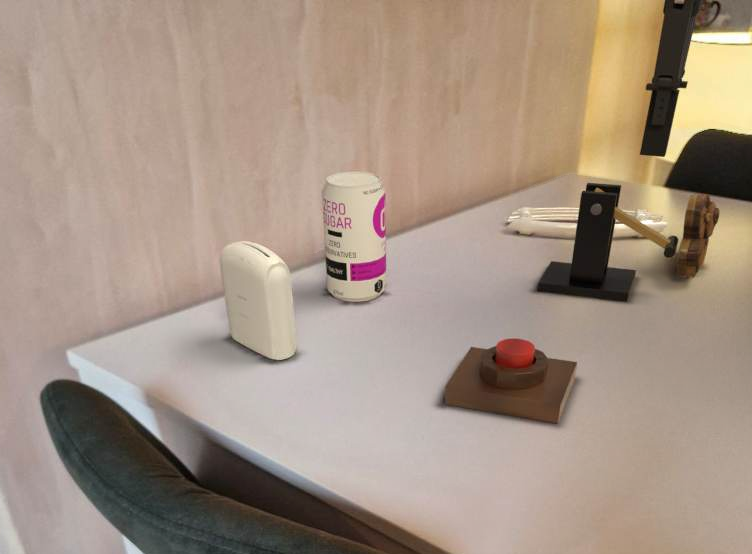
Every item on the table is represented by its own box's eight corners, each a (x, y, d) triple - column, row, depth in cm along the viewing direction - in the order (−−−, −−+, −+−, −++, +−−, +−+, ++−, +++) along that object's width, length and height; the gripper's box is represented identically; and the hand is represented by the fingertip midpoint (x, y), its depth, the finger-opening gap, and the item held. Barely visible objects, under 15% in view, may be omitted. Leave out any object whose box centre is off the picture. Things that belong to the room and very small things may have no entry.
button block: (574, 379, 85) (579, 346, 82) (557, 423, 77) (562, 388, 75) (469, 364, 88) (471, 331, 86) (444, 404, 81) (445, 370, 79)
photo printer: (225, 338, 95) (211, 239, 88) (254, 328, 98) (242, 230, 90) (273, 365, 89) (262, 260, 82) (302, 354, 91) (294, 251, 84)
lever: (671, 251, 103) (683, 235, 101) (668, 263, 99) (680, 247, 97) (588, 200, 103) (598, 184, 101) (582, 211, 99) (592, 194, 97)
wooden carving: (705, 290, 104) (724, 215, 98) (669, 287, 105) (686, 212, 99) (707, 251, 116) (724, 182, 110) (675, 248, 118) (690, 180, 111)
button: (536, 356, 81) (538, 341, 80) (528, 372, 79) (530, 357, 77) (500, 351, 83) (501, 336, 82) (490, 367, 80) (492, 351, 79)
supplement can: (391, 283, 109) (390, 171, 100) (378, 305, 103) (377, 188, 93) (336, 279, 111) (331, 169, 101) (320, 301, 104) (313, 186, 95)
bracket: (634, 278, 108) (653, 183, 100) (627, 301, 102) (646, 202, 94) (550, 269, 112) (561, 176, 104) (537, 291, 105) (548, 194, 98)
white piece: (666, 242, 120) (506, 237, 124) (658, 223, 128) (507, 219, 131) (670, 225, 118) (508, 220, 122) (661, 206, 126) (509, 202, 130)
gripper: (673, -111, 78) (627, 139, 93) (657, -114, 69) (609, 164, 83) (752, -113, 76) (692, 144, 90) (747, -116, 66) (681, 171, 81)
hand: (652, 154), depth 87 cm, fingers closed
